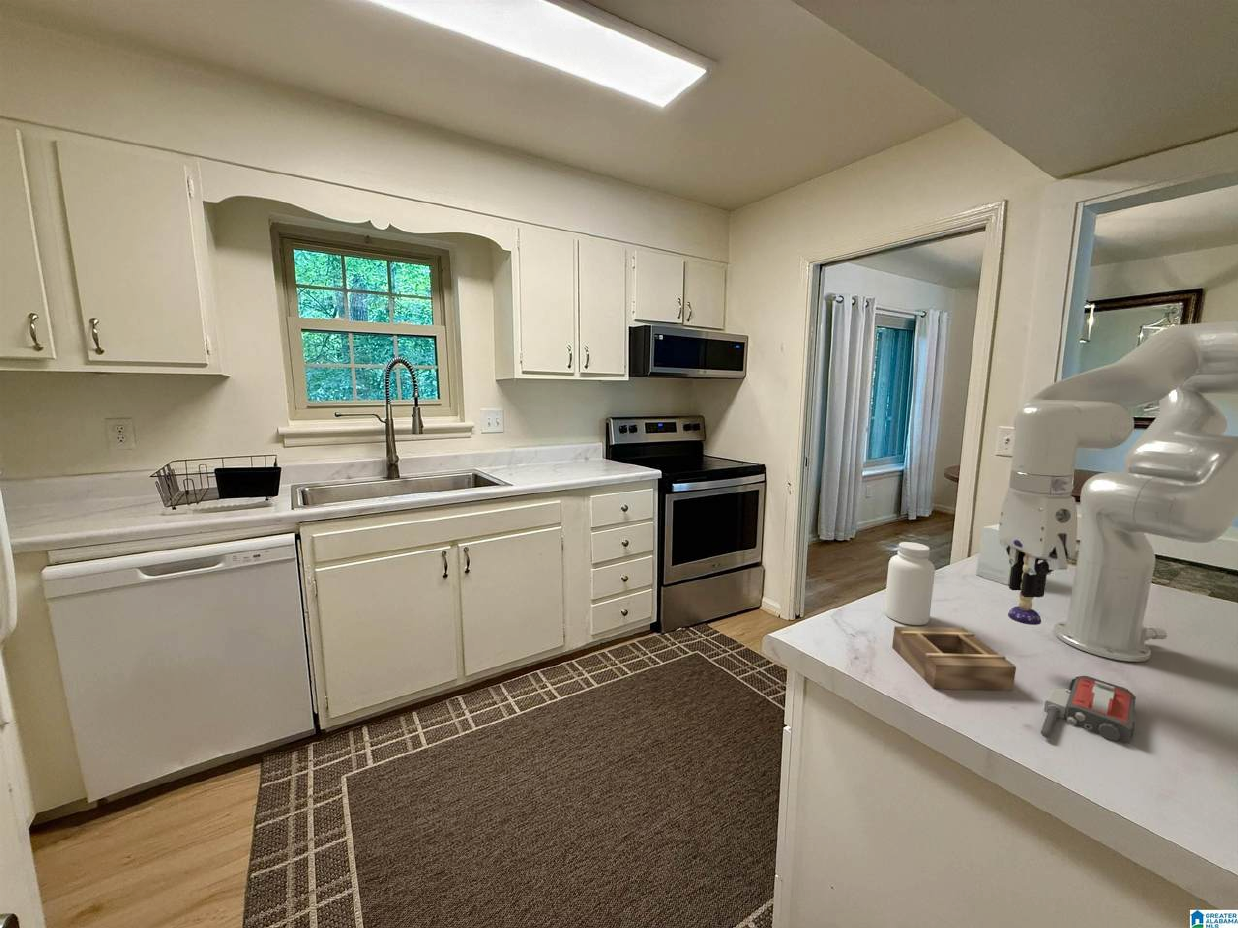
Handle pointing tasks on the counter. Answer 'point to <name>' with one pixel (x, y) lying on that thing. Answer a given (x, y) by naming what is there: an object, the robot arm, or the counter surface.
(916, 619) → the pill bottle
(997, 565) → the supplement box
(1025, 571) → the toy lamp
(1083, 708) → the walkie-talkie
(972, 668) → the tan wooden square frame
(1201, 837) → the counter surface
